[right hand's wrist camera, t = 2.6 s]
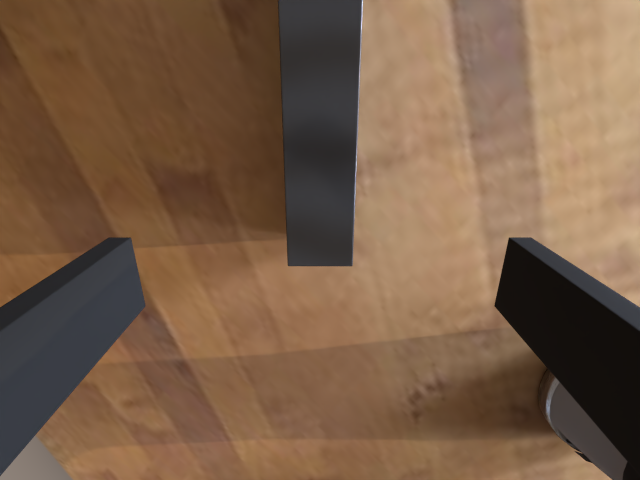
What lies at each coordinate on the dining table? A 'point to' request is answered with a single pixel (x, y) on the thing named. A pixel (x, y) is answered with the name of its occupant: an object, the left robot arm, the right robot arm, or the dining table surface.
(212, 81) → the dining table surface
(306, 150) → the rail
